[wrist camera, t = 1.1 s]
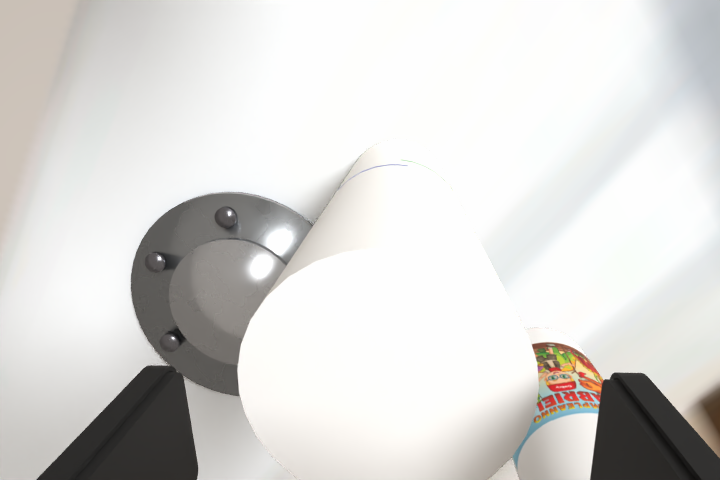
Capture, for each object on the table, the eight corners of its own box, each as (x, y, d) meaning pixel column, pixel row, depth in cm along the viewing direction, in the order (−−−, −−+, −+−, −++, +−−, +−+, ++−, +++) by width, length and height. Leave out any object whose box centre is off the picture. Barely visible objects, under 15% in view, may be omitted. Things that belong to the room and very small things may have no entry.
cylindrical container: (344, 143, 34) (214, 255, 11) (443, 135, 34) (544, 239, 10) (352, 236, 36) (259, 507, 13) (446, 231, 36) (534, 509, 12)
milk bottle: (596, 387, 38) (787, 676, 19) (506, 418, 40) (601, 712, 21) (564, 309, 37) (738, 542, 18) (471, 344, 38) (539, 593, 19)
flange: (116, 194, 37) (107, 197, 36) (343, 189, 35) (341, 192, 34) (154, 390, 42) (147, 398, 41) (353, 394, 41) (351, 403, 39)
